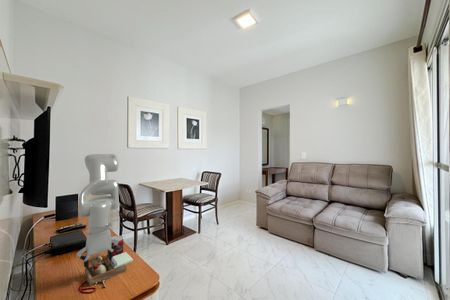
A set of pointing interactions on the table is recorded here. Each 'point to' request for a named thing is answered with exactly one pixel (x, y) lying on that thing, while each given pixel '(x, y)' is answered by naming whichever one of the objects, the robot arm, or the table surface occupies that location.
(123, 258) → the lid
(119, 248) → the canned food
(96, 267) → the chocolate bunny
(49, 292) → the table surface
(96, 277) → the compartment box
